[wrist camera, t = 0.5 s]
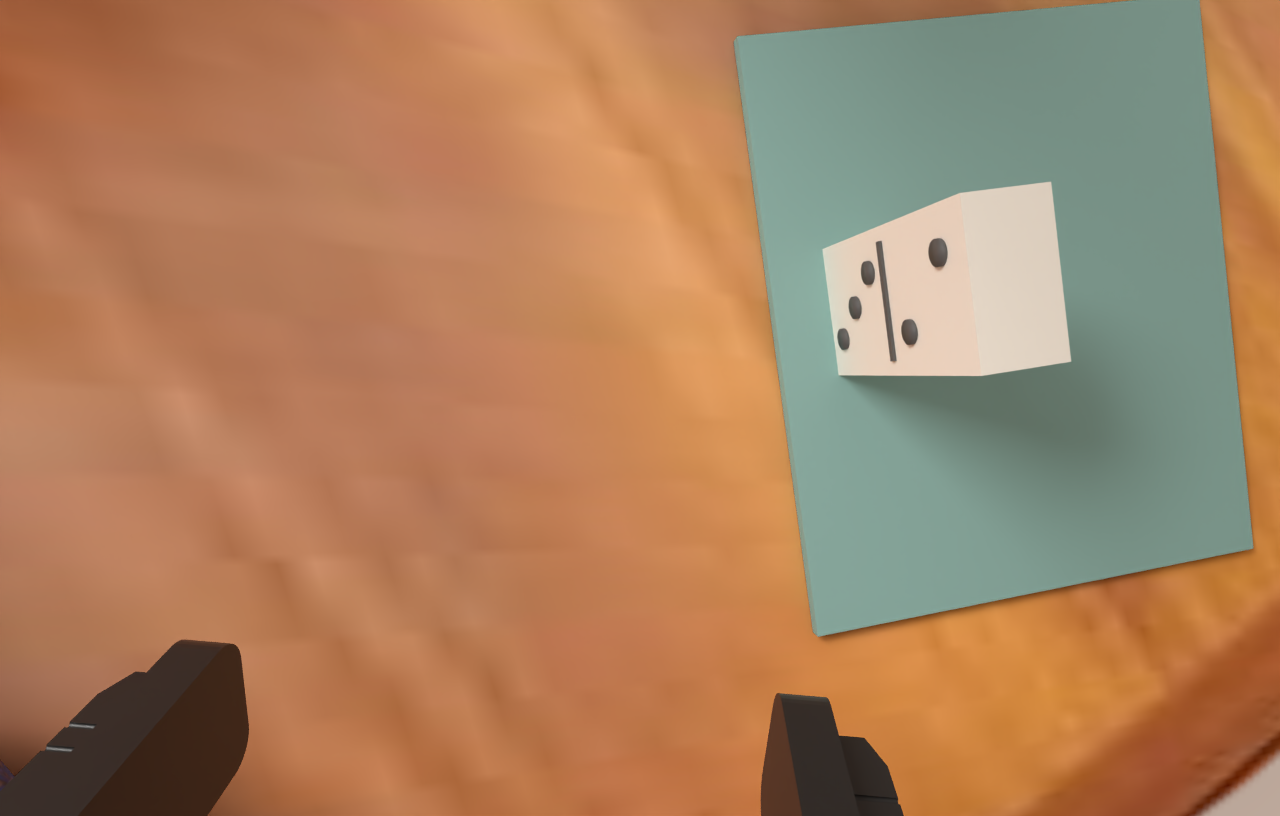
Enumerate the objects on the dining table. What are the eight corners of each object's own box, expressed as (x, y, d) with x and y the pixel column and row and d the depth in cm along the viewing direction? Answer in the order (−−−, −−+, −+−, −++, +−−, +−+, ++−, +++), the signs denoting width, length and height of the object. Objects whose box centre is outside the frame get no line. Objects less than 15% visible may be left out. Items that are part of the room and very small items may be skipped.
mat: (733, 42, 35) (737, 36, 34) (1188, 0, 38) (1198, -6, 37) (813, 632, 36) (818, 636, 36) (1242, 545, 39) (1253, 548, 39)
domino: (819, 249, 35) (954, 193, 24) (887, 240, 35) (1050, 181, 25) (835, 375, 35) (976, 376, 24) (902, 365, 36) (1071, 361, 25)
